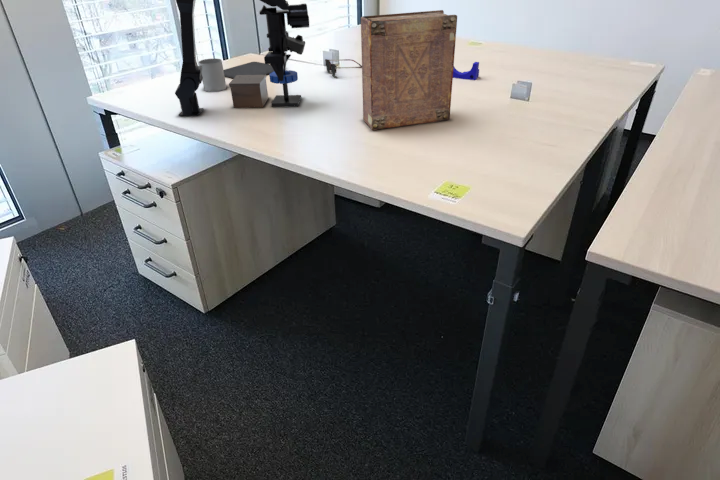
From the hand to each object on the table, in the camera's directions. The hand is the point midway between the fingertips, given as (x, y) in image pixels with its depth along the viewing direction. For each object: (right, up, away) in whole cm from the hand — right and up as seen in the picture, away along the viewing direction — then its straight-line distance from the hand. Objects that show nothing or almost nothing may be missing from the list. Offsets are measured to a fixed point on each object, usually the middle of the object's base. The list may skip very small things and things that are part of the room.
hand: (282, 79), depth 159 cm
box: (-12, -5, +8) cm, 16 cm away
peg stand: (0, -5, +8) cm, 9 cm away
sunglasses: (+21, +16, +39) cm, 47 cm away
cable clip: (+66, +11, +29) cm, 73 cm away
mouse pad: (-21, +18, +44) cm, 52 cm away
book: (+40, -16, -10) cm, 44 cm away
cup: (-29, +5, +24) cm, 38 cm away
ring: (0, +1, +3) cm, 4 cm away
